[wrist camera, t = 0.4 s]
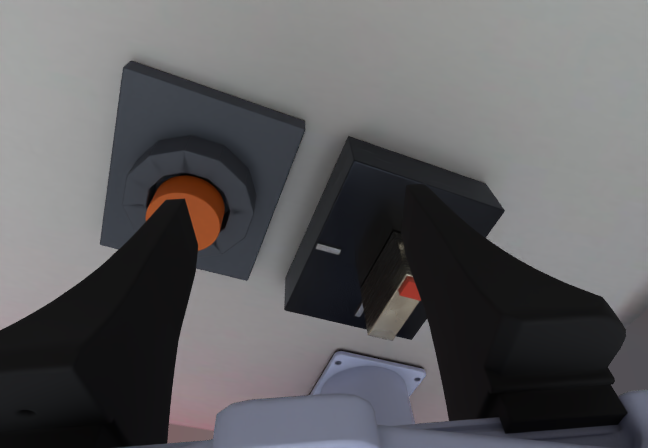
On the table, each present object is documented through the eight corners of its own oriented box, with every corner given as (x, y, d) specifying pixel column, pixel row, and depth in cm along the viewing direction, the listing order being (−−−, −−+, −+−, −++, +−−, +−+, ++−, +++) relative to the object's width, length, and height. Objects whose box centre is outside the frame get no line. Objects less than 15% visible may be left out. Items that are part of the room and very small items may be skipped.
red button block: (381, 295, 27) (393, 344, 24) (359, 289, 27) (368, 339, 24) (417, 237, 25) (434, 284, 22) (393, 230, 24) (407, 277, 21)
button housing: (249, 269, 29) (244, 301, 27) (106, 233, 27) (87, 264, 25) (305, 120, 24) (306, 144, 21) (130, 59, 21) (109, 78, 19)
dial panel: (402, 307, 32) (412, 342, 30) (285, 278, 30) (283, 312, 27) (486, 183, 26) (507, 212, 24) (348, 135, 24) (354, 161, 22)
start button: (216, 239, 25) (210, 260, 23) (149, 222, 24) (140, 242, 22) (232, 187, 23) (228, 205, 21) (160, 165, 22) (151, 183, 20)
